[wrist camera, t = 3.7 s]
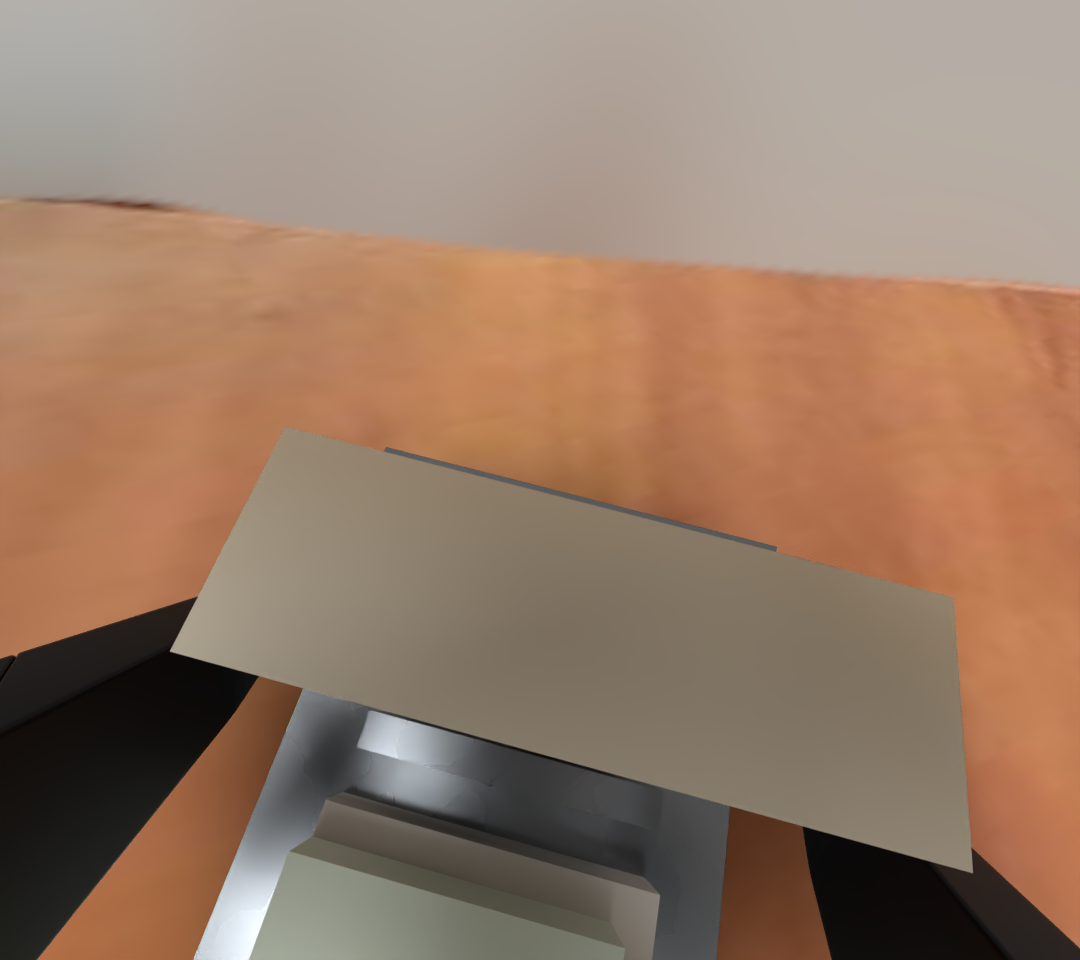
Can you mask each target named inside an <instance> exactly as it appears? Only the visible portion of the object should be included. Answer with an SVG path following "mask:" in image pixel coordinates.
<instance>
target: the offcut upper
mask: <svg viewBox="0 0 1080 960" xmlns="http://www.w3.org/2000/svg"><path fill="white" fill-rule="evenodd" d="M624 953H625V947H624V945H623V943H622V942H621V940H620V938H619V936H618V934H617V932H616V930H615V929H614V927H613V925H612V923H611V922H608V921H604V920H601V919H597V918H594V917H591V916H587V915H584V914H580V913H577V912H573V911H570V910H566V909H563V908H559V907H556V906H552V905H549V904H545V903H542V902H538V901H535V900H531V899H528V898H525V897H521V896H518V895H514V894H511V893H507V892H504V891H500V890H497V889H493V888H490V887H486V886H483V885H479V884H476V883H472V882H469V881H465V880H462V879H458V878H455V877H452V876H448V875H445V874H441V873H438V872H434V871H431V870H427V869H424V868H420V867H417V866H413V865H410V864H406V863H403V862H399V861H396V860H392V859H389V858H386V857H382V856H379V855H375V854H372V853H368V852H365V851H361V850H358V849H354V848H351V847H347V846H344V845H340V844H337V843H333V842H330V841H326V840H323V839H320V838H316V837H311V838H309V839H308V840H306V841H305V842H303V843H301V844H300V845H298V846H296V847H295V848H293V849H292V850H290V851H289V852H288V855H287V858H286V860H285V863H284V866H283V869H282V871H281V874H280V877H279V879H278V882H277V885H276V887H275V890H274V893H273V895H272V898H271V901H270V904H269V906H268V909H267V912H266V914H265V917H264V920H263V922H262V925H261V928H260V931H259V933H258V936H257V939H256V941H255V944H254V947H253V949H252V952H251V955H250V958H249V960H624Z"/></svg>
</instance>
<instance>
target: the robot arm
mask: <svg viewBox="0 0 1080 960" xmlns="http://www.w3.org/2000/svg"><path fill="white" fill-rule="evenodd" d="M197 598H198V597H195V598H191V599H188V600H185V601H182V602H179V603H176V604H172V605H169V606H166V607H163V608H160V609H157V610H153V611H150V612H147V613H144V614H141V615H138V616H134V617H131V618H128V619H125V620H122V621H119V622H115V623H112V624H109V625H106V626H103V627H100V628H96V629H93V630H90V631H87V632H84V633H81V634H77V635H74V636H71V637H68V638H65V639H62V640H58V641H55V642H52V643H49V644H46V645H43V646H39V647H36V648H33V649H30V650H27V651H24V652H21V653H19V654H18V655H17V656H16V657H15V656H13V655H11V656H7V657H4V658H1V659H0V960H37V959H38V958H39V957H40V955H41V954H42V953H43V952H44V950H45V949H46V948H47V947H48V945H49V944H50V943H51V942H52V940H53V939H54V938H55V937H56V935H57V934H58V933H59V932H60V930H61V929H62V928H63V927H64V925H65V924H66V923H67V922H68V920H69V919H70V918H71V917H72V915H73V914H74V913H75V912H76V910H77V909H78V908H79V907H80V905H81V904H82V903H83V902H84V900H85V899H86V898H87V897H88V895H89V894H90V893H91V892H92V890H93V889H94V888H95V887H96V885H97V884H98V883H99V882H100V880H101V879H102V878H103V877H104V875H105V874H106V873H107V872H108V870H109V869H110V868H111V867H112V865H113V864H114V863H115V862H116V860H117V859H118V858H119V857H120V855H121V854H122V853H123V852H124V850H125V849H126V848H127V847H128V845H129V844H130V843H131V842H132V841H133V839H134V838H135V837H136V836H137V834H138V833H139V832H140V831H141V829H142V828H143V827H144V826H145V824H146V823H147V822H148V821H149V819H150V818H151V817H152V816H153V814H154V813H155V812H156V811H157V809H158V808H159V807H160V806H161V804H162V803H163V802H164V801H165V799H166V798H167V797H168V796H169V794H170V793H171V792H172V791H173V789H174V788H175V787H176V786H177V784H178V783H179V782H180V781H181V779H182V778H183V777H184V776H185V774H186V773H187V772H188V771H189V769H190V768H191V767H192V766H193V764H194V763H195V762H196V761H197V759H198V758H199V757H200V756H201V754H202V753H203V752H204V751H205V749H206V748H207V747H208V746H209V744H210V743H211V742H212V741H213V739H214V738H215V737H216V736H217V734H218V733H219V732H220V731H221V729H222V728H223V727H224V726H225V724H226V723H227V722H228V720H229V719H230V718H231V716H232V715H233V714H234V713H235V711H236V710H237V708H238V707H239V705H240V704H241V702H242V701H243V700H244V698H245V696H246V695H247V693H248V692H249V690H250V689H251V687H252V686H253V684H254V683H255V681H256V679H257V678H258V676H257V675H253V674H250V673H246V672H242V671H239V670H235V669H231V668H228V667H224V666H221V665H217V664H213V663H210V662H206V661H203V660H199V659H195V658H192V657H188V656H184V655H181V654H177V653H174V652H170V650H171V648H172V646H173V644H174V642H175V640H176V638H177V637H178V635H179V633H180V631H181V629H182V627H183V625H184V623H185V621H186V619H187V617H188V615H189V613H190V611H191V609H192V607H193V605H194V603H195V602H196V600H197ZM803 833H804V839H805V846H806V852H807V858H808V864H809V869H810V874H811V878H812V883H813V887H814V891H815V895H816V899H817V903H818V907H819V911H820V915H821V919H822V923H823V927H824V931H825V935H826V939H827V942H828V946H829V950H830V954H831V958H832V960H1080V948H1079V947H1078V946H1077V945H1076V944H1075V943H1074V942H1073V941H1071V940H1070V939H1069V938H1068V937H1067V936H1066V935H1065V934H1064V933H1063V932H1062V931H1061V930H1060V929H1059V928H1057V927H1056V926H1055V925H1054V924H1053V923H1052V922H1051V921H1050V920H1049V919H1048V918H1047V917H1046V916H1045V915H1043V914H1042V913H1041V912H1040V911H1039V910H1038V909H1037V908H1036V907H1035V906H1034V905H1033V904H1032V903H1031V902H1030V901H1028V900H1027V899H1026V898H1025V897H1024V896H1023V895H1022V894H1021V893H1020V892H1019V891H1018V890H1017V889H1016V888H1014V887H1013V886H1012V885H1011V884H1010V883H1009V882H1008V881H1007V880H1006V879H1005V878H1004V877H1003V876H1002V875H1000V874H999V873H998V872H997V871H996V870H995V869H994V868H993V867H992V866H991V865H990V864H989V863H988V862H987V861H985V860H984V859H983V858H982V857H981V856H980V855H979V854H978V853H977V852H976V851H975V850H974V849H973V848H971V851H972V865H973V873H970V872H967V871H963V870H959V869H956V868H952V867H948V866H945V865H941V864H938V863H934V862H930V861H927V860H923V859H919V858H916V857H912V856H909V855H905V854H901V853H898V852H894V851H891V850H887V849H883V848H880V847H876V846H872V845H869V844H865V843H862V842H858V841H854V840H851V839H847V838H843V837H840V836H836V835H833V834H829V833H825V832H822V831H818V830H814V829H811V828H807V827H804V826H803Z"/></svg>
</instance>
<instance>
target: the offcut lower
mask: <svg viewBox="0 0 1080 960" xmlns="http://www.w3.org/2000/svg"><path fill="white" fill-rule="evenodd" d="M313 837H316V838H320V839H323V840H326V841H330V842H333V843H337V844H340V845H344V846H347V847H351V848H354V849H358V850H361V851H365V852H368V853H372V854H375V855H379V856H382V857H386V858H389V859H392V860H396V861H399V862H403V863H406V864H410V865H413V866H417V867H420V868H424V869H427V870H431V871H434V872H438V873H441V874H445V875H448V876H452V877H455V878H458V879H462V880H465V881H469V882H472V883H476V884H479V885H483V886H486V887H490V888H493V889H497V890H500V891H504V892H507V893H511V894H514V895H518V896H521V897H525V898H528V899H531V900H535V901H538V902H542V903H545V904H549V905H552V906H556V907H559V908H563V909H566V910H570V911H573V912H577V913H580V914H584V915H587V916H591V917H594V918H597V919H601V920H604V921H608V922H611V923H612V925H613V927H614V929H615V930H616V932H617V934H618V936H619V938H620V940H621V942H622V943H623V945H624V947H625V953H624V960H652V955H653V947H654V939H655V931H656V924H657V916H658V908H659V900H660V894H659V893H658V892H657V891H656V890H655V889H654V888H653V887H652V885H651V884H650V883H649V882H648V881H647V880H646V879H645V878H644V877H641V876H637V875H634V874H630V873H627V872H623V871H620V870H616V869H613V868H609V867H606V866H602V865H599V864H595V863H592V862H588V861H585V860H581V859H578V858H574V857H570V856H567V855H563V854H560V853H556V852H553V851H549V850H546V849H542V848H539V847H535V846H532V845H528V844H525V843H521V842H518V841H514V840H511V839H507V838H503V837H500V836H496V835H493V834H489V833H486V832H482V831H479V830H475V829H472V828H468V827H465V826H461V825H458V824H454V823H451V822H447V821H443V820H440V819H436V818H433V817H429V816H426V815H422V814H419V813H415V812H412V811H408V810H405V809H401V808H398V807H394V806H391V805H387V804H384V803H380V802H376V801H373V800H369V799H366V798H362V797H359V796H355V795H352V794H348V793H345V792H342V793H340V794H337V795H335V796H333V797H331V798H329V799H326V800H325V803H324V806H323V809H322V812H321V814H320V817H319V820H318V823H317V825H316V828H315V831H314V834H313Z"/></svg>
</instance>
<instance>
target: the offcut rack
mask: <svg viewBox="0 0 1080 960" xmlns="http://www.w3.org/2000/svg"><path fill="white" fill-rule="evenodd" d="M384 452H387V453H391V454H395V455H399V456H403V457H407V458H411V459H414V460H418V461H422V462H426V463H430V464H434V465H438V466H442V467H446V468H450V469H454V470H458V471H461V472H465V473H469V474H473V475H477V476H481V477H485V478H489V479H493V480H497V481H501V482H504V483H508V484H512V485H516V486H520V487H524V488H528V489H532V490H536V491H540V492H544V493H548V494H551V495H555V496H559V497H563V498H567V499H571V500H575V501H579V502H583V503H587V504H591V505H594V506H598V507H602V508H606V509H610V510H614V511H618V512H622V513H626V514H630V515H634V516H638V517H641V518H645V519H649V520H653V521H657V522H661V523H665V524H669V525H673V526H677V527H681V528H684V529H688V530H692V531H696V532H700V533H704V534H708V535H712V536H716V537H720V538H724V539H728V540H731V541H735V542H739V543H743V544H747V545H751V546H755V547H759V548H763V549H767V550H771V551H774V552H776V549H777V547H776V546H772V545H768V544H764V543H760V542H756V541H752V540H748V539H744V538H740V537H736V536H732V535H728V534H725V533H721V532H717V531H713V530H709V529H705V528H701V527H697V526H693V525H689V524H685V523H681V522H678V521H674V520H670V519H666V518H662V517H658V516H654V515H650V514H646V513H642V512H638V511H634V510H630V509H627V508H623V507H619V506H615V505H611V504H607V503H603V502H599V501H595V500H591V499H587V498H583V497H580V496H576V495H572V494H568V493H564V492H560V491H556V490H552V489H548V488H544V487H540V486H536V485H533V484H529V483H525V482H521V481H517V480H513V479H509V478H505V477H501V476H497V475H493V474H489V473H485V472H482V471H478V470H474V469H470V468H466V467H462V466H458V465H454V464H450V463H446V462H442V461H438V460H435V459H431V458H427V457H423V456H419V455H415V454H411V453H407V452H403V451H399V450H395V449H391V448H388V447H386V448H385V451H384ZM342 792H345V793H348V794H352V795H355V796H359V797H362V798H366V799H369V800H373V801H376V802H380V803H384V804H387V805H391V806H394V807H398V808H401V809H405V810H408V811H412V812H415V813H419V814H422V815H426V816H429V817H433V818H436V819H440V820H443V821H447V822H451V823H454V824H458V825H461V826H465V827H468V828H472V829H475V830H479V831H482V832H486V833H489V834H493V835H496V836H500V837H503V838H507V839H511V840H514V841H518V842H521V843H525V844H528V845H532V846H535V847H539V848H542V849H546V850H549V851H553V852H556V853H560V854H563V855H567V856H570V857H574V858H578V859H581V860H585V861H588V862H592V863H595V864H599V865H602V866H606V867H609V868H613V869H616V870H620V871H623V872H627V873H630V874H634V875H637V876H641V877H644V878H645V879H646V880H647V881H648V882H649V883H650V884H651V885H652V887H653V888H654V889H655V890H656V891H657V892H658V893H659V894H660V900H659V908H658V916H657V924H656V931H655V939H654V947H653V955H652V960H717V949H718V938H719V927H720V915H721V904H722V892H723V881H724V870H725V858H726V847H727V836H728V824H729V813H730V806H728V805H724V804H720V803H717V802H713V801H709V800H706V799H702V798H699V797H695V796H691V795H688V794H684V793H680V792H677V791H673V790H670V789H666V788H662V787H659V786H655V785H652V784H648V783H644V782H641V781H637V780H633V779H630V778H626V777H623V776H619V775H615V774H612V773H608V772H604V771H601V770H597V769H594V768H590V767H586V766H583V765H579V764H575V763H572V762H568V761H565V760H561V759H557V758H554V757H550V756H547V755H543V754H539V753H536V752H532V751H528V750H525V749H521V748H518V747H514V746H510V745H507V744H503V743H499V742H496V741H492V740H489V739H485V738H481V737H478V736H474V735H470V734H467V733H463V732H460V731H456V730H452V729H449V728H445V727H441V726H438V725H434V724H431V723H427V722H423V721H420V720H416V719H413V718H409V717H405V716H402V715H398V714H394V713H391V712H387V711H384V710H380V709H376V708H373V707H369V706H365V705H362V704H358V703H355V702H351V701H347V700H344V699H340V698H336V697H333V696H329V695H326V694H322V693H318V692H315V691H311V690H308V689H304V688H303V690H302V693H301V695H300V697H299V700H298V702H297V705H296V707H295V710H294V712H293V715H292V717H291V720H290V722H289V725H288V727H287V730H286V732H285V735H284V737H283V740H282V742H281V744H280V747H279V749H278V752H277V754H276V757H275V759H274V762H273V764H272V767H271V769H270V772H269V774H268V777H267V779H266V782H265V784H264V787H263V789H262V791H261V794H260V796H259V799H258V801H257V804H256V806H255V809H254V811H253V814H252V816H251V819H250V821H249V824H248V826H247V829H246V831H245V834H244V836H243V838H242V841H241V843H240V846H239V848H238V851H237V853H236V856H235V858H234V861H233V863H232V866H231V868H230V871H229V873H228V876H227V878H226V881H225V883H224V885H223V888H222V890H221V893H220V895H219V898H218V900H217V903H216V905H215V908H214V910H213V913H212V915H211V918H210V920H209V923H208V925H207V928H206V930H205V932H204V935H203V937H202V940H201V942H200V945H199V947H198V950H197V952H196V955H195V957H194V960H249V958H250V955H251V952H252V949H253V947H254V944H255V941H256V939H257V936H258V933H259V931H260V928H261V925H262V922H263V920H264V917H265V914H266V912H267V909H268V906H269V904H270V901H271V898H272V895H273V893H274V890H275V887H276V885H277V882H278V879H279V877H280V874H281V871H282V869H283V866H284V863H285V860H286V858H287V855H288V852H289V851H290V850H292V849H293V848H295V847H296V846H298V845H300V844H301V843H303V842H305V841H306V840H308V839H309V838H311V837H313V834H314V831H315V828H316V825H317V823H318V820H319V817H320V814H321V812H322V809H323V806H324V803H325V800H326V799H329V798H331V797H333V796H335V795H337V794H340V793H342Z"/></svg>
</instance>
